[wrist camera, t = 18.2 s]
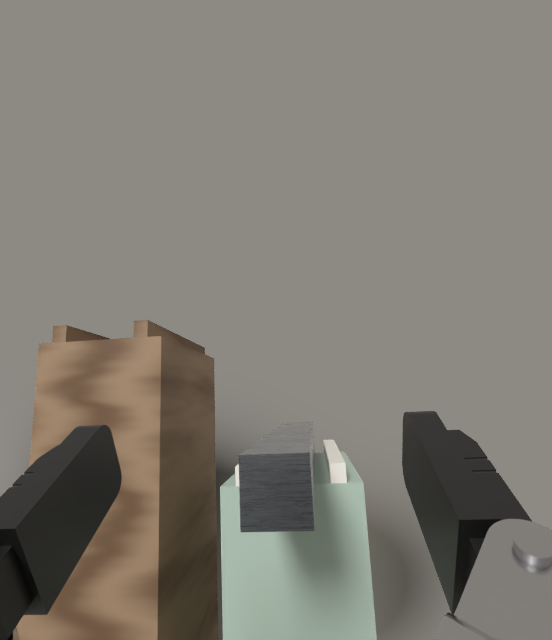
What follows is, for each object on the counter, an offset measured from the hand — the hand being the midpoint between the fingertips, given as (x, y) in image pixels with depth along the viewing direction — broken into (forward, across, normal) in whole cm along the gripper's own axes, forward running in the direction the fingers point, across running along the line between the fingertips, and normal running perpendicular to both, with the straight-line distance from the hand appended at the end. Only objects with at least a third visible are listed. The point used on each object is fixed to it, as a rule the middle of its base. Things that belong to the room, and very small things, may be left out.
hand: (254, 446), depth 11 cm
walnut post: (+7, +13, +34) cm, 37 cm away
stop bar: (+14, 0, +12) cm, 19 cm away
